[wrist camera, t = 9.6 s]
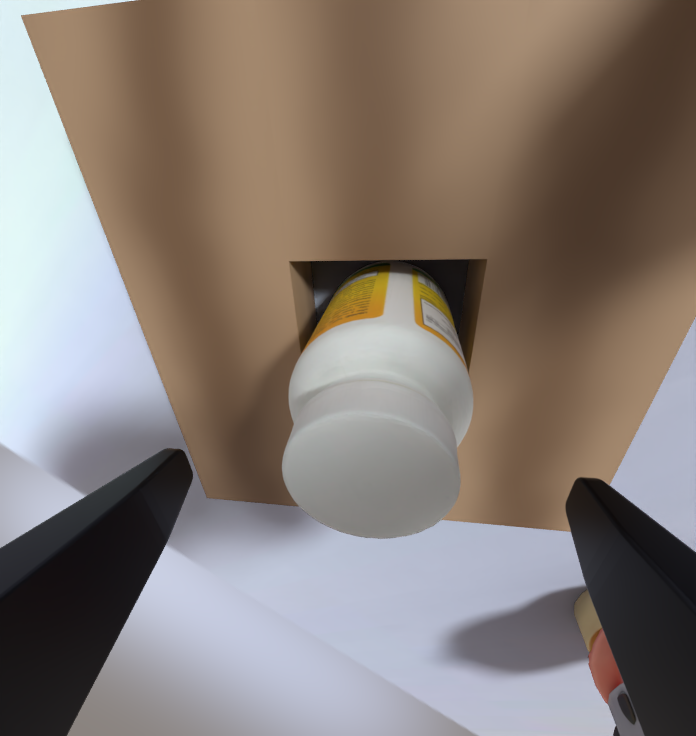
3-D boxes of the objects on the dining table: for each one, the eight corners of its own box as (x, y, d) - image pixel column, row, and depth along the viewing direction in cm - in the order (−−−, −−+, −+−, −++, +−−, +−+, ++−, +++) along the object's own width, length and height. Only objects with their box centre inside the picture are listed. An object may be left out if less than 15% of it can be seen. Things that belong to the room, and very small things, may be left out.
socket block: (767, -28, 9) (908, -101, 7) (561, 484, 19) (584, 532, 17) (102, 46, 12) (20, 15, 9) (229, 459, 22) (207, 497, 20)
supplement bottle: (465, 272, 14) (549, 422, 6) (428, 377, 17) (451, 575, 9) (338, 245, 14) (254, 356, 6) (322, 354, 17) (250, 529, 9)
